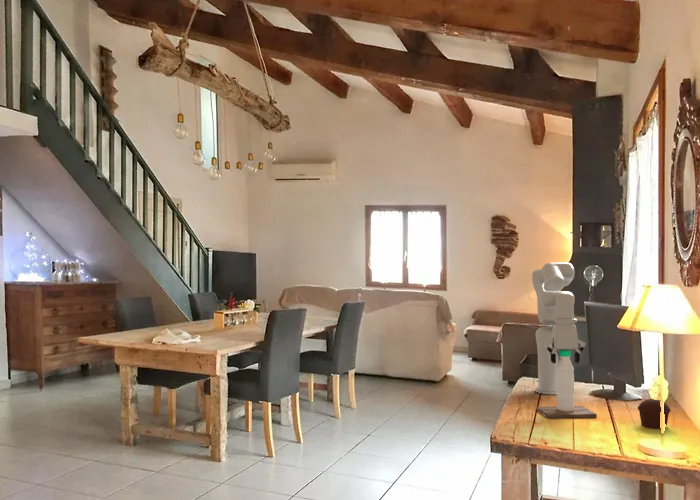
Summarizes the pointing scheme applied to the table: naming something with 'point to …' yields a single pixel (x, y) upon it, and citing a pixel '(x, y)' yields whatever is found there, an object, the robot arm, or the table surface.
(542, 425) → the table surface
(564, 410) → the water bottle
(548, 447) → the table surface
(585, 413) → the walnut board
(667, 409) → the muffin
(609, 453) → the table surface
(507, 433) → the table surface
